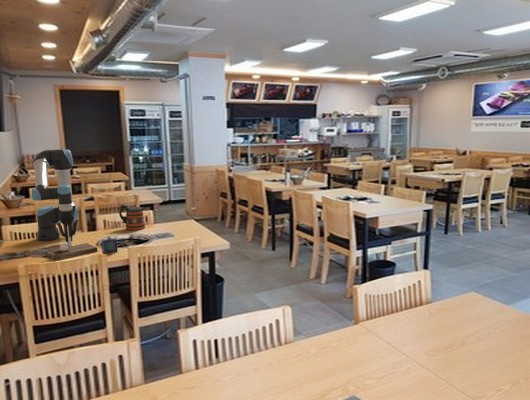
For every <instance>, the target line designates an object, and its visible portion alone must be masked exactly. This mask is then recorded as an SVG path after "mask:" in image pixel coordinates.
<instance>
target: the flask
mask: <svg viewBox="0 0 530 400" xmlns="http://www.w3.org/2000/svg"><path fill="white" fill-rule="evenodd" d="M100 241H101V242H100V243H101V253H108V254H113V253H112V252H115V253H118V240H117V238H116V237H110V236H109V235H108V236H107V237H106V238H104V239H101V240H100Z"/></svg>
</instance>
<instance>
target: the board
mask: <svg viewBox="0 0 530 400" xmlns="http://www.w3.org/2000/svg"><path fill="white" fill-rule="evenodd" d="M96 252H98V247H97V246H95V245H92V244H90V243H89V242H88V243H87V242H85V243H81V244H76V245H72V247H68V250H67V251H61V250H60V248H56V249H55V248H54V249H52V250H46V251H45V256H46V257H48V258H50V259H52V260H54V261H60V260H64V259H69V258H74V257H79V256H83V255H87V254H91V253H96Z"/></svg>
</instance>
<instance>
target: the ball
mask: <svg viewBox="0 0 530 400" xmlns="http://www.w3.org/2000/svg"><path fill="white" fill-rule="evenodd" d="M59 249H60V250H61V251H67V250H68V245H67V243H61V244H60V246H59Z"/></svg>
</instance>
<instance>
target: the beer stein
mask: <svg viewBox="0 0 530 400" xmlns="http://www.w3.org/2000/svg"><path fill="white" fill-rule="evenodd" d="M123 211H126V212H125V213H126V214H125V216H124V215H123V214H122V212H123ZM143 211H144V207H143V206H141V207H140V206H127V205H126V204H120V207H119V213H118V215H119V217H120V219H121V220H122V223H123V224H125V228H126V230H128V231H140V229H141V230H144V229H145V228H146V224H145V220H144V212H143ZM143 228H144V229H143Z"/></svg>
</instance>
